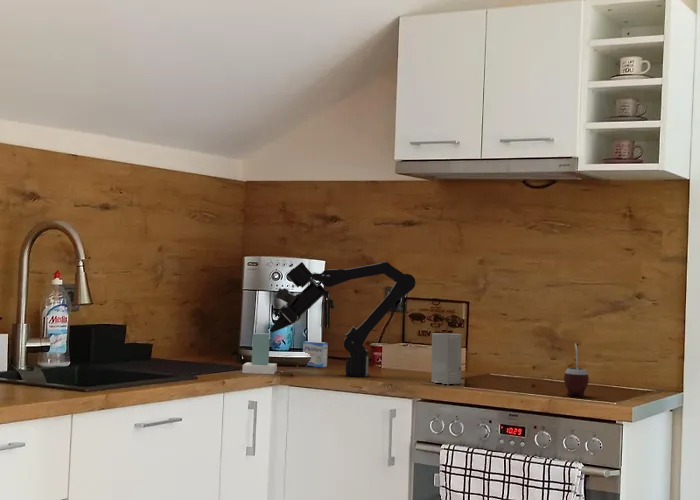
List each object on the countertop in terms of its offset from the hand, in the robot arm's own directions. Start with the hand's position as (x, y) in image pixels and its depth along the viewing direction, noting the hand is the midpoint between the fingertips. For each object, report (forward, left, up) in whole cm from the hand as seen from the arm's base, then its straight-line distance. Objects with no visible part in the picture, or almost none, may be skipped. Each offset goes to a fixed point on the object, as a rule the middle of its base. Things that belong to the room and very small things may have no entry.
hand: (272, 330), depth 320 cm
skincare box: (-57, -3, -14) cm, 59 cm away
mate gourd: (-97, +6, -14) cm, 98 cm away
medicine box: (-5, -30, -14) cm, 33 cm away
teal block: (+3, +1, -11) cm, 12 cm away
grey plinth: (+3, +1, -14) cm, 14 cm away
